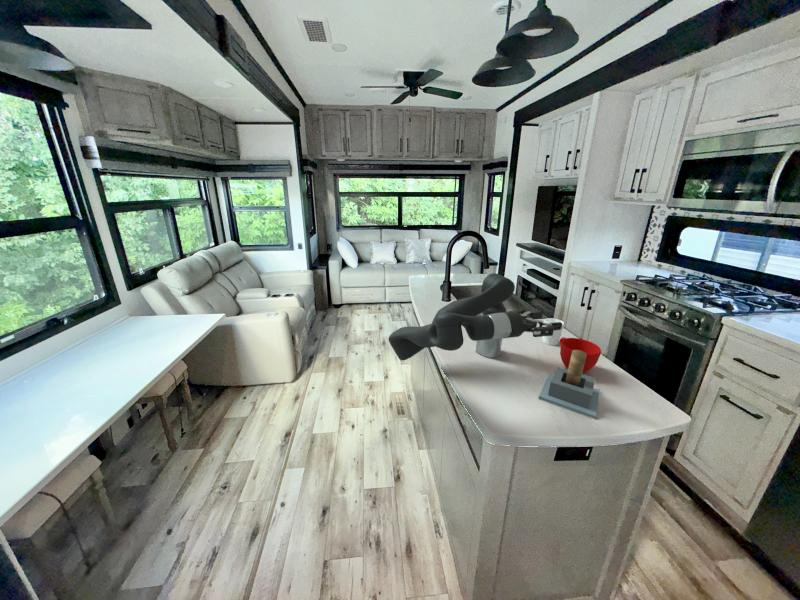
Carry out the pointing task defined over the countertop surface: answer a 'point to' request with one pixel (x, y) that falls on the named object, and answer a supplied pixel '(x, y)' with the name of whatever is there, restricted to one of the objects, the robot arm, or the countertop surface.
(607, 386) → the countertop surface
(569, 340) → the ceramic cup
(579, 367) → the wooden cylinder
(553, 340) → the white cup
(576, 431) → the countertop surface
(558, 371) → the socket block
